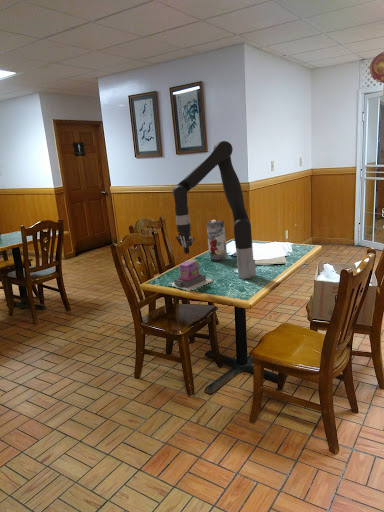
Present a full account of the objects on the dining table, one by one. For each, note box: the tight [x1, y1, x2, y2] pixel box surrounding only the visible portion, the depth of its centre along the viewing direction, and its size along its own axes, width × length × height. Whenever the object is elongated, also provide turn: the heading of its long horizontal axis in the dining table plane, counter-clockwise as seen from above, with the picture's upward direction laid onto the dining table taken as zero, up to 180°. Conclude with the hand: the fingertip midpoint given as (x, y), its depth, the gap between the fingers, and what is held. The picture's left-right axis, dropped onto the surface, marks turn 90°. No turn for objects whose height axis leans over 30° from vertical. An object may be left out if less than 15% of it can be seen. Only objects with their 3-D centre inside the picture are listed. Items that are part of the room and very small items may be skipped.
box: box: [178, 259, 200, 282], centre depth 220 cm, size 10×6×12 cm, turn 144°
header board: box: [170, 273, 214, 290], centre depth 222 cm, size 18×18×4 cm
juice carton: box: [205, 219, 228, 262], centre depth 259 cm, size 9×10×27 cm
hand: (186, 253), depth 218 cm, fingers closed
